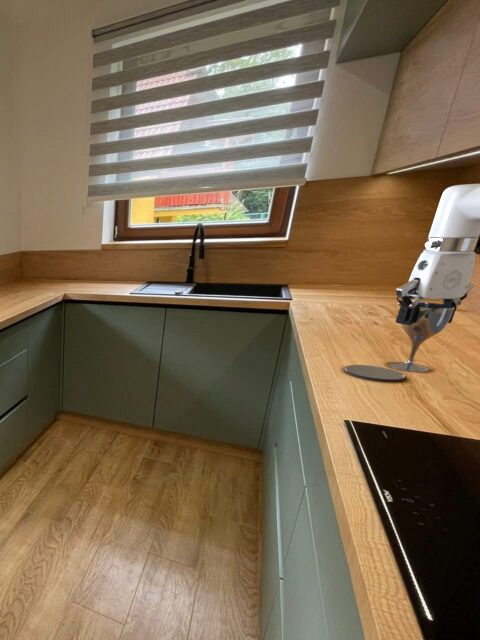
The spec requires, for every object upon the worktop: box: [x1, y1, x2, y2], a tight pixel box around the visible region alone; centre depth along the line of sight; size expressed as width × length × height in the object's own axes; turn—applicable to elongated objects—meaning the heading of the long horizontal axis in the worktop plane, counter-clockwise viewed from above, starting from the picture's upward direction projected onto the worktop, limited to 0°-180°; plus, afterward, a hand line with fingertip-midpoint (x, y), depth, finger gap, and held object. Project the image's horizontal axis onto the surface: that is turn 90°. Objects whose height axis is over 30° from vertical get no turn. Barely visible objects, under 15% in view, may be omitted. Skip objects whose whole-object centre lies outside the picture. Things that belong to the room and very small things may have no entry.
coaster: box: [343, 364, 405, 383], centre depth 100 cm, size 10×10×1 cm
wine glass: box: [387, 301, 454, 373], centre depth 100 cm, size 8×8×15 cm
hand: (422, 322), depth 99 cm, fingers open, 9 cm apart
